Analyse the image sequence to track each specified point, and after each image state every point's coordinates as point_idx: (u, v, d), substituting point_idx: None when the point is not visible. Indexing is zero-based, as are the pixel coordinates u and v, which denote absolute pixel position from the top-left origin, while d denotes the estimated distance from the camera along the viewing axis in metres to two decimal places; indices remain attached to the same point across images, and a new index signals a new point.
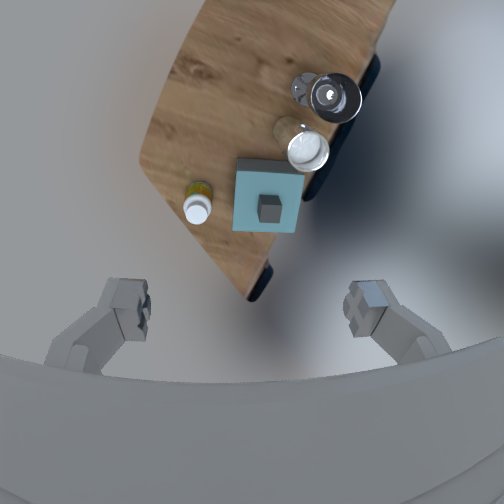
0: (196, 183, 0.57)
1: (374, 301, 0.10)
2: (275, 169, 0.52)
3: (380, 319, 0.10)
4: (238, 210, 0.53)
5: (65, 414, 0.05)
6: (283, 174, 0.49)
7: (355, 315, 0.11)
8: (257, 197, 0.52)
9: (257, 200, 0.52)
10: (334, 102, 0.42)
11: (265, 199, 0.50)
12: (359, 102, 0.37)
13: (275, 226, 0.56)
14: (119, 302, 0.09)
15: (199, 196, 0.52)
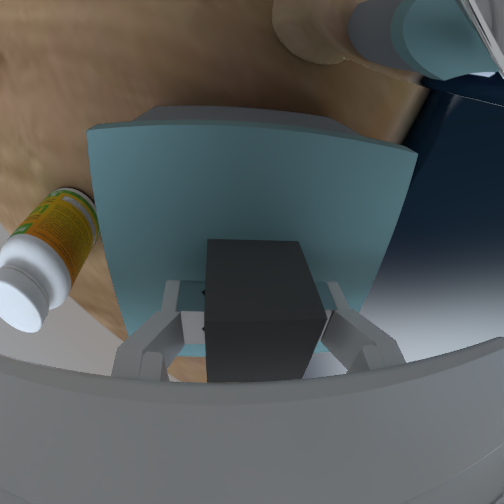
0: (52, 194, 0.17)
1: None
2: None
3: (328, 323, 0.10)
4: (134, 299, 0.12)
5: (65, 414, 0.05)
6: (327, 140, 0.09)
7: None
8: (201, 252, 0.11)
9: (203, 264, 0.12)
10: None
11: (231, 274, 0.09)
12: None
13: None
14: (185, 305, 0.09)
15: (20, 244, 0.12)
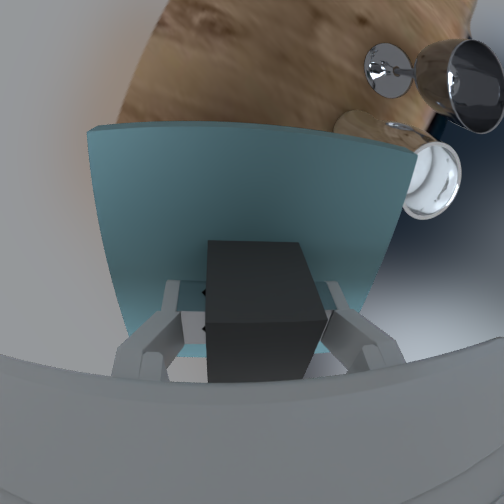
0: None
1: None
2: None
3: (328, 323, 0.10)
4: (134, 300, 0.12)
5: (65, 414, 0.05)
6: (328, 141, 0.09)
7: None
8: (202, 253, 0.11)
9: (203, 265, 0.12)
10: (450, 95, 0.19)
11: (232, 276, 0.09)
12: (502, 101, 0.15)
13: None
14: (185, 305, 0.09)
15: None
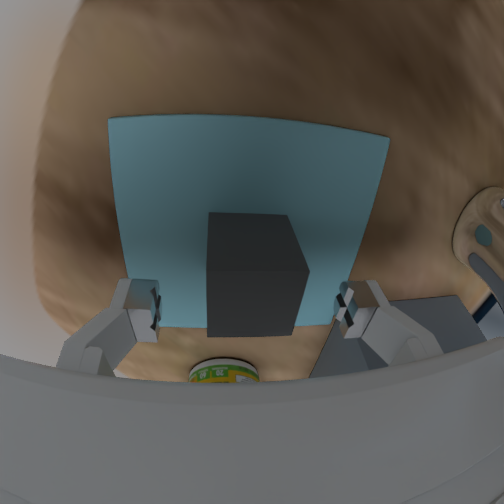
0: (215, 371, 0.19)
1: (364, 302, 0.10)
2: None
3: (370, 320, 0.10)
4: (142, 269, 0.14)
5: (65, 414, 0.05)
6: (309, 127, 0.11)
7: (345, 316, 0.11)
8: (203, 224, 0.13)
9: (204, 235, 0.13)
10: None
11: (229, 238, 0.11)
12: None
13: None
14: (131, 303, 0.09)
15: None
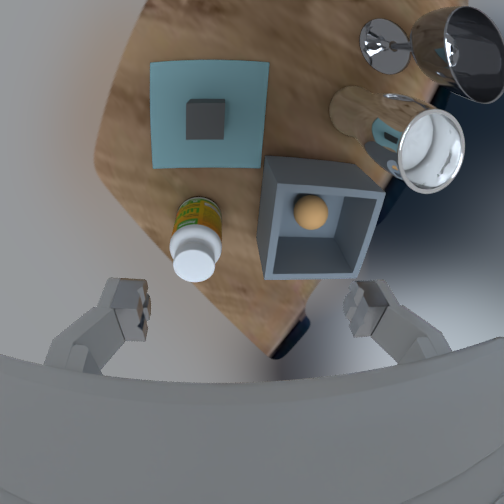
0: (193, 201, 0.32)
1: (374, 301, 0.10)
2: (340, 178, 0.27)
3: (380, 319, 0.10)
4: (158, 130, 0.28)
5: (65, 414, 0.05)
6: (230, 61, 0.24)
7: (355, 315, 0.11)
8: None
9: None
10: None
11: (197, 100, 0.25)
12: None
13: (225, 157, 0.30)
14: (119, 302, 0.09)
15: (198, 230, 0.28)
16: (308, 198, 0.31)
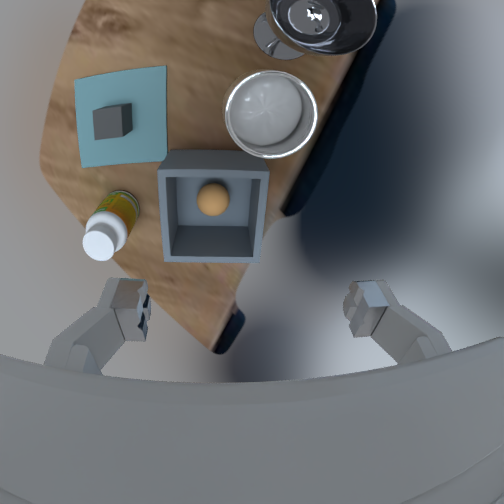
0: (112, 193, 0.34)
1: (374, 301, 0.10)
2: (226, 163, 0.29)
3: (380, 319, 0.10)
4: (83, 135, 0.30)
5: (65, 414, 0.05)
6: (134, 70, 0.27)
7: (355, 315, 0.11)
8: None
9: None
10: (325, 34, 0.20)
11: (105, 107, 0.27)
12: (373, 20, 0.15)
13: (136, 153, 0.33)
14: (119, 302, 0.09)
15: (104, 215, 0.29)
16: (207, 186, 0.33)
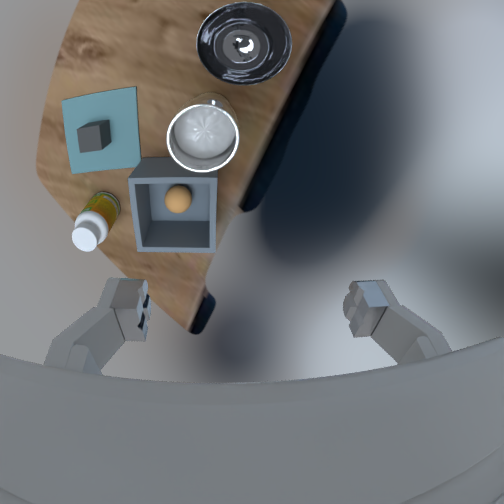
0: (97, 195, 0.40)
1: (374, 301, 0.10)
2: (184, 170, 0.35)
3: (380, 319, 0.10)
4: (72, 146, 0.35)
5: (65, 414, 0.05)
6: (110, 91, 0.32)
7: (355, 315, 0.11)
8: None
9: None
10: (259, 59, 0.25)
11: (87, 124, 0.32)
12: (290, 47, 0.20)
13: (115, 161, 0.38)
14: (119, 302, 0.09)
15: (89, 214, 0.35)
16: (172, 188, 0.39)
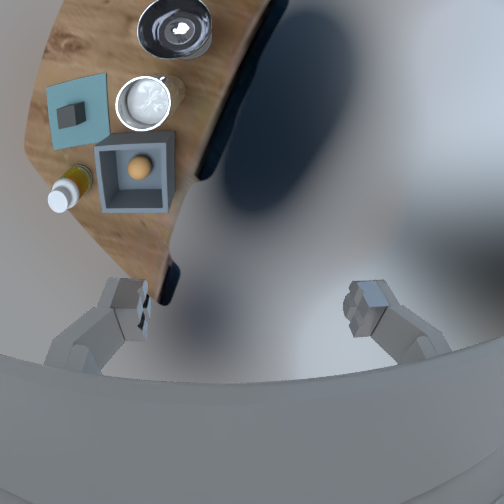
0: (73, 167, 0.43)
1: (374, 301, 0.10)
2: (141, 139, 0.38)
3: (380, 319, 0.10)
4: (54, 126, 0.38)
5: (65, 414, 0.05)
6: (85, 78, 0.35)
7: (355, 315, 0.11)
8: None
9: None
10: (196, 40, 0.28)
11: (65, 106, 0.35)
12: (211, 25, 0.23)
13: (89, 136, 0.41)
14: (119, 302, 0.09)
15: (63, 181, 0.38)
16: (134, 157, 0.42)
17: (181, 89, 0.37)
